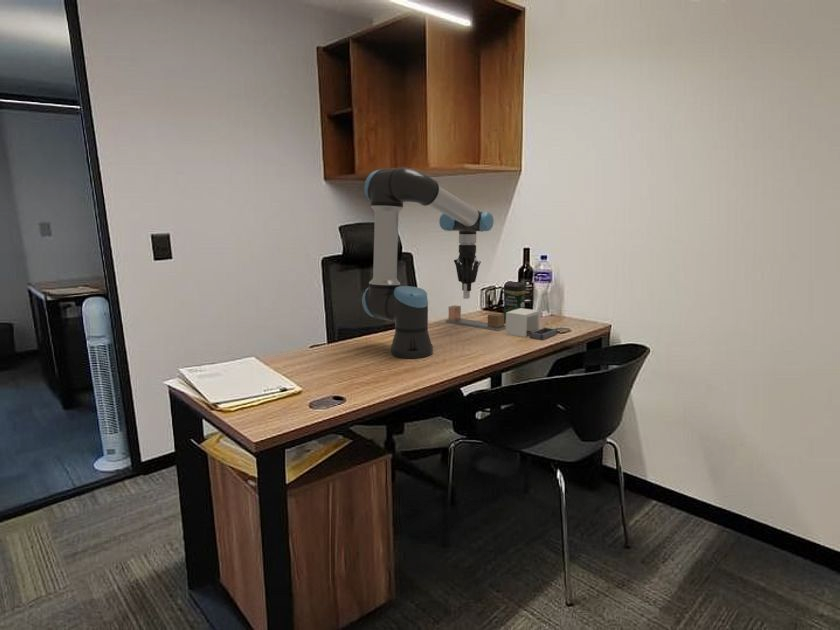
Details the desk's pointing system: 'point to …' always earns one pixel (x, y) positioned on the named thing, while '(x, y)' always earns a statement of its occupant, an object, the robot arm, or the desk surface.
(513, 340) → the desk surface
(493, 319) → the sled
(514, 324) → the tunnel
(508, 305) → the coffee jar
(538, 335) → the tray
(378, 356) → the desk surface
